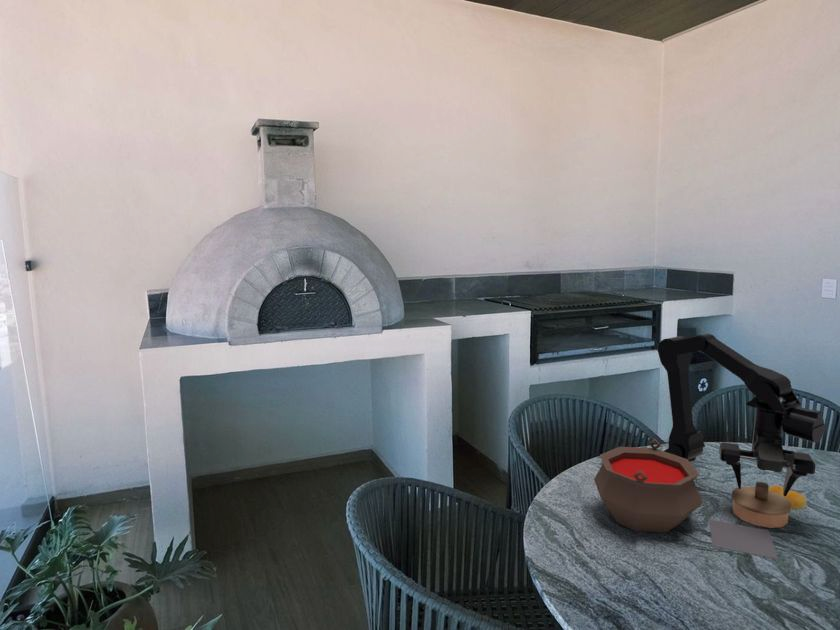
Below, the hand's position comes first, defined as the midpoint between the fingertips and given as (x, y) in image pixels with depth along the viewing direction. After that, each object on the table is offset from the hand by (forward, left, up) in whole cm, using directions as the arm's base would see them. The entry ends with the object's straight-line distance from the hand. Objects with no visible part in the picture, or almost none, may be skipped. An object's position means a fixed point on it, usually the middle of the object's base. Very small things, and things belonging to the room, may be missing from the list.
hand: (761, 491), depth 135 cm
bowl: (0, 0, -7) cm, 7 cm away
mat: (-5, -13, -7) cm, 15 cm away
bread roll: (+7, +11, -7) cm, 15 cm away
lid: (0, 0, -3) cm, 3 cm away
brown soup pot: (-25, -11, -7) cm, 28 cm away
